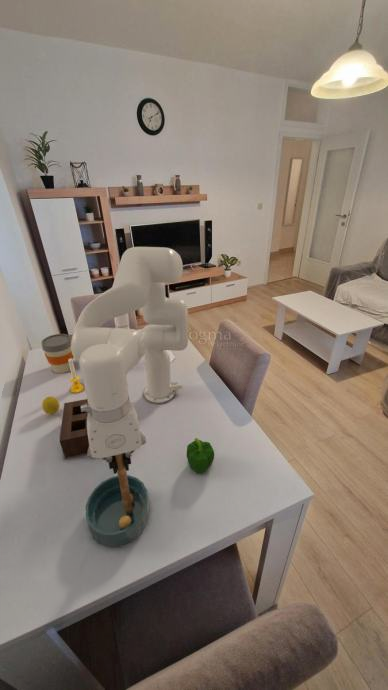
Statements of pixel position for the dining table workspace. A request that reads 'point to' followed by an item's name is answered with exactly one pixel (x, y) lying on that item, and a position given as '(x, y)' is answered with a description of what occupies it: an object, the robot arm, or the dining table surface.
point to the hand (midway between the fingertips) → (120, 466)
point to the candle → (75, 379)
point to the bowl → (116, 512)
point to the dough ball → (124, 522)
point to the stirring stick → (123, 483)
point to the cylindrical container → (122, 321)
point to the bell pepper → (200, 455)
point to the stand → (74, 429)
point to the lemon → (50, 405)
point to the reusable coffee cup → (58, 351)
